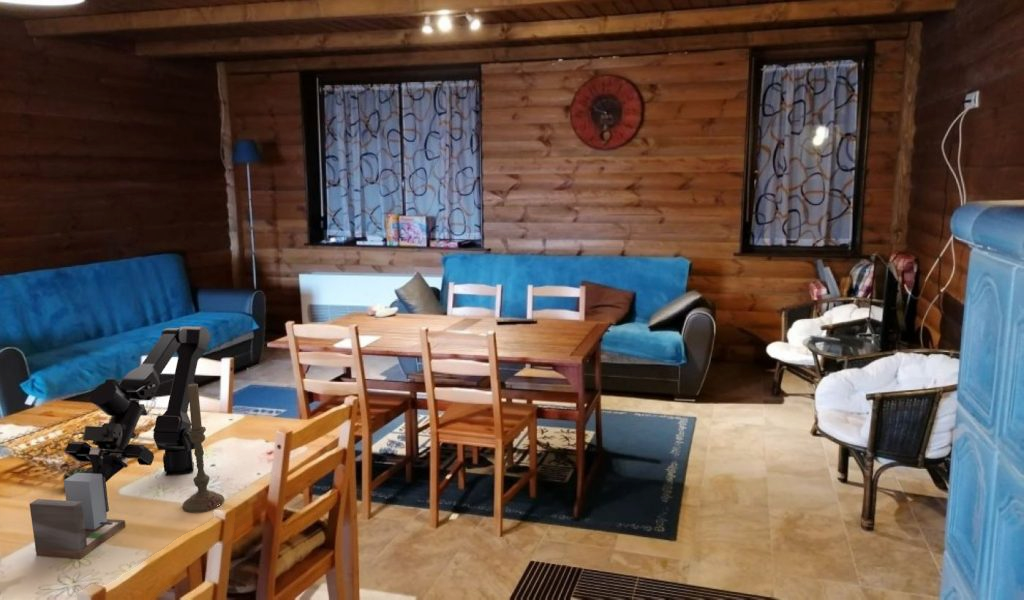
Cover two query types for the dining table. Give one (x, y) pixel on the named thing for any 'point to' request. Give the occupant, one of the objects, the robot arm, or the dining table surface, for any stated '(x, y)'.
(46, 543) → the base
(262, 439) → the dining table surface
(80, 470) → the tape measure
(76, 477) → the block
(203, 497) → the candlestick holder
